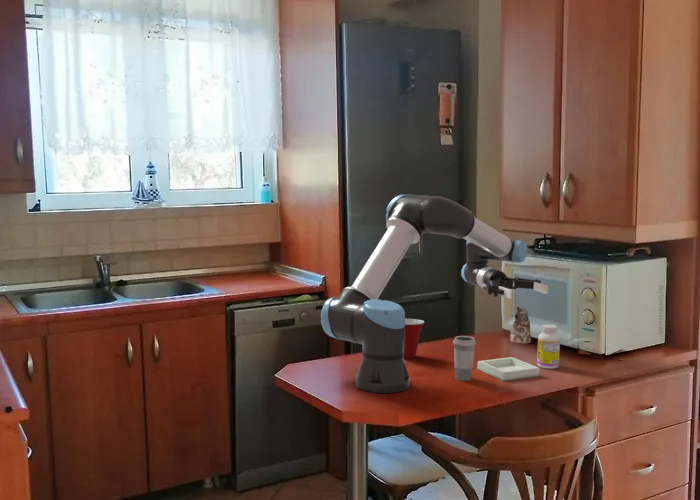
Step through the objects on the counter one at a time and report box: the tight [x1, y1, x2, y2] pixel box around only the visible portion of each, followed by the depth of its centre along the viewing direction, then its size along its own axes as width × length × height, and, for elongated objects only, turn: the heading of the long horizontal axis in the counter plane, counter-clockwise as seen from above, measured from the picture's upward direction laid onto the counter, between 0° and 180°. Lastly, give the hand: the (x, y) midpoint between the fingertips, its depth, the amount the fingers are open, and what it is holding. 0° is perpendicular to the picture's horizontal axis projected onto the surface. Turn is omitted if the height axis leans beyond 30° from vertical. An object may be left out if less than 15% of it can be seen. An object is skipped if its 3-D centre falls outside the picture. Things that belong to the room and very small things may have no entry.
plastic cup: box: [404, 318, 425, 359], centre depth 242 cm, size 11×11×12 cm
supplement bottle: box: [536, 323, 561, 370], centre depth 233 cm, size 7×7×13 cm
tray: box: [476, 356, 541, 382], centre depth 226 cm, size 13×13×2 cm
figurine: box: [509, 306, 532, 344], centre depth 265 cm, size 7×7×12 cm
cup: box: [452, 335, 477, 382], centre depth 218 cm, size 7×7×12 cm
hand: (529, 292), depth 239 cm, fingers open, 13 cm apart
